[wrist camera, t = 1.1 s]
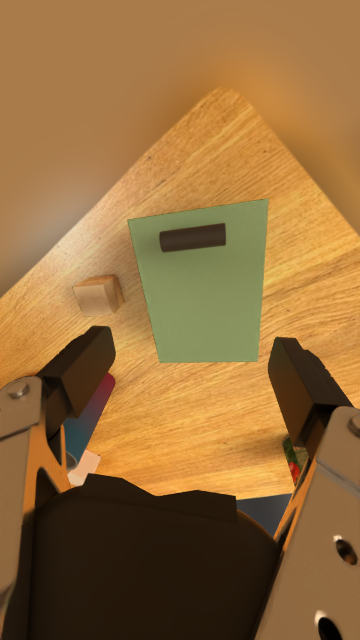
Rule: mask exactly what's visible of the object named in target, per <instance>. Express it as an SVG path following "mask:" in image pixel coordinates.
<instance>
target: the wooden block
mask: <svg viewBox="0 0 360 640" xmlns="http://www.w3.org/2000/svg"><path fill="white" fill-rule="evenodd" d="M72 288H73V291H74V293H75V296H76V298H77V301H78V303H79V306H80V308H81V311H82V313H83V316H84V317H89V316H106V315H113V314H114V313H115V312H116V311H117V310H118V309H119V308H120V306H121V305H122V304H123V303H124V299H123V296H122V292H121V289H120V285H119V282H118V278H117V275H111V276H101V277H91V278H88V279H86V280H85V281H83V282H81V283H79V284H77V285H76V286H74V287H72Z"/></svg>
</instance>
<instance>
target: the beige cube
mask: <svg viewBox="0 0 360 640" xmlns="http://www.w3.org/2000/svg"><path fill="white" fill-rule="evenodd" d="M100 459H101V457H100V456H98V455H96V454H94V453H92V452H91V451H89V450H87V449H85V451H84V453H83V455H82V458H81V460H80V462H79V464H78V466H77V468H76V469H74V470H70V471H67V475H68V479H69V482H70V483H72V484H74V485H76V486H80V485H83V483H84V481H85V479H86V477H87V474H88V473H93V474H94V473H95V471H96V468H97V466H98V464H99V462H100Z"/></svg>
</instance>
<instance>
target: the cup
mask: <svg viewBox="0 0 360 640" xmlns="http://www.w3.org/2000/svg"><path fill="white" fill-rule="evenodd" d="M114 386H115V379H114V378H113V376H112V375H111V374H109V373H107V374H106V375H105V377H104V378H103V380H102V382H101V383H100V385H99V386H98V388H97V390H96V391H95V393H94V394H93V396H92V397H91V399H90V401H89V402H88V404H87V405H86V407H85V409H84V410H83V412H82V413H81V415H80V416H79V418H78V419H73V418H66V419H65V421H64V422H63V426H64V435H65V452H66V468H67V471H70V470H74V469H76V468H77V466H78V464H79V462H80V460H81V458H82V455H83V453H84V451H85V449H86V447H87V445H88V442H89V440H90V438H91V436H92V434H93V431H94V429H95V427H96V425H97V423H98V421H99V418H100V416H101V414H102V412H103V410H104V408H105V405H106V403H107V401H108V399H109V397H110V394H111V392H112V390H113V388H114Z"/></svg>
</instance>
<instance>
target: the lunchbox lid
mask: <svg viewBox="0 0 360 640" xmlns="http://www.w3.org/2000/svg"><path fill="white" fill-rule="evenodd" d="M268 201H269V199H261V200H254V201H248V202H241V203H234V204H228V205H221V206H215V207H208V208H201V209H195V210H188V211H182V212H175V213H168V214H162V215H155V216H148V217H142V218H135V219H129V220H128V225H129V230H130V234H131V239H132V243H133V247H134V252H135V256H136V260H137V265H138V269H139V274H140V278H141V282H142V287H143V291H144V296H145V300H146V304H147V309H148V313H149V318H150V322H151V326H152V331H153V335H154V340H155V344H156V348H157V353H158V357H159V362H160V363H195V362H258V354H259V339H260V323H261V308H262V293H263V278H264V262H265V247H266V232H267V216H268Z"/></svg>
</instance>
